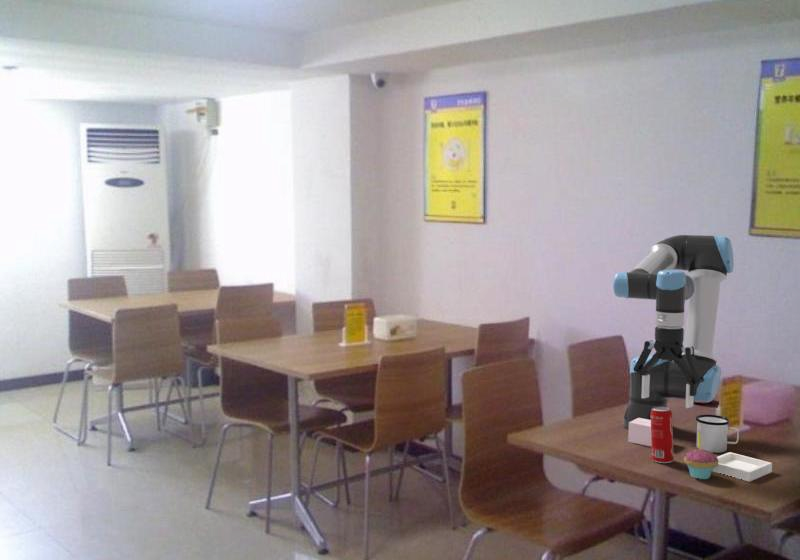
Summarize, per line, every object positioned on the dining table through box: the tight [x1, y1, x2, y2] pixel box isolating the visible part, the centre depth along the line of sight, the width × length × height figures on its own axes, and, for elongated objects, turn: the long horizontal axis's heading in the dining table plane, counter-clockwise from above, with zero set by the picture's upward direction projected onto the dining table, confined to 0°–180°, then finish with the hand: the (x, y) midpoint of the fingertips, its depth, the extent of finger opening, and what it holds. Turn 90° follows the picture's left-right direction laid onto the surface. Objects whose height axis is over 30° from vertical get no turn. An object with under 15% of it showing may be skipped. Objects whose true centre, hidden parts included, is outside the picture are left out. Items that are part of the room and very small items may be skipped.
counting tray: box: [712, 451, 773, 482], centre depth 215 cm, size 12×12×2 cm
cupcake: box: [683, 432, 718, 480], centre depth 211 cm, size 9×8×12 cm
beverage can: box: [650, 407, 675, 464], centre depth 223 cm, size 6×6×15 cm
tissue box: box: [627, 418, 652, 448], centre depth 240 cm, size 10×7×6 cm
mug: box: [695, 414, 740, 454], centre depth 234 cm, size 12×10×9 cm
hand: (666, 402), depth 222 cm, fingers open, 13 cm apart
